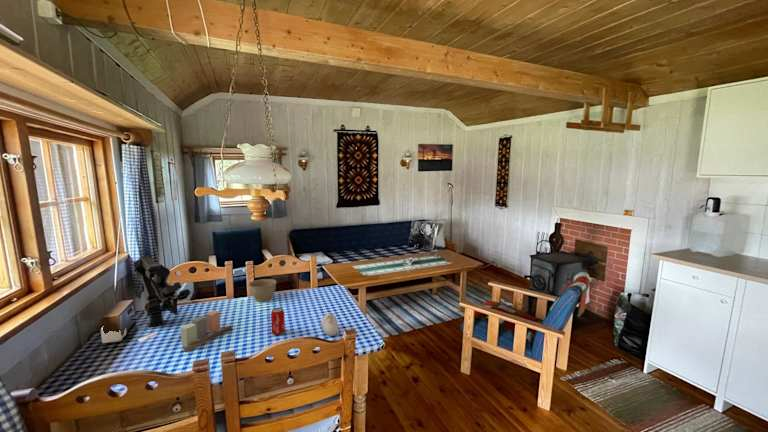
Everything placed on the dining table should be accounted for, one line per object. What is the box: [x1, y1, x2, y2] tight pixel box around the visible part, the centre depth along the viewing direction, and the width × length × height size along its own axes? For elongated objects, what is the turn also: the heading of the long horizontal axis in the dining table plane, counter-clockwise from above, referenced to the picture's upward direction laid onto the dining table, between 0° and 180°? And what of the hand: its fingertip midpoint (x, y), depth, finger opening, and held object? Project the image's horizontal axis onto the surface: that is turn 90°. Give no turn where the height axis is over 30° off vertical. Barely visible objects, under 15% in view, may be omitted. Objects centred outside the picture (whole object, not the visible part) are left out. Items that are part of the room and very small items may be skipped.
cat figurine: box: [320, 312, 340, 337], centre depth 158 cm, size 10×8×15 cm
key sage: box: [180, 322, 198, 348], centre depth 143 cm, size 4×4×9 cm
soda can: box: [270, 307, 286, 336], centre depth 156 cm, size 6×6×12 cm
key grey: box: [191, 315, 208, 341], centre depth 150 cm, size 4×4×9 cm
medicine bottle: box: [100, 327, 127, 344], centre depth 149 cm, size 7×7×12 cm
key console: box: [183, 324, 233, 353], centre depth 150 cm, size 12×23×3 cm, turn 155°
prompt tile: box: [137, 332, 158, 343], centre depth 149 cm, size 12×7×1 cm, turn 65°
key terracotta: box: [205, 310, 221, 334], centre depth 156 cm, size 4×4×9 cm
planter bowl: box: [248, 278, 277, 303], centre depth 199 cm, size 16×16×11 cm
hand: (176, 314), depth 151 cm, fingers closed
